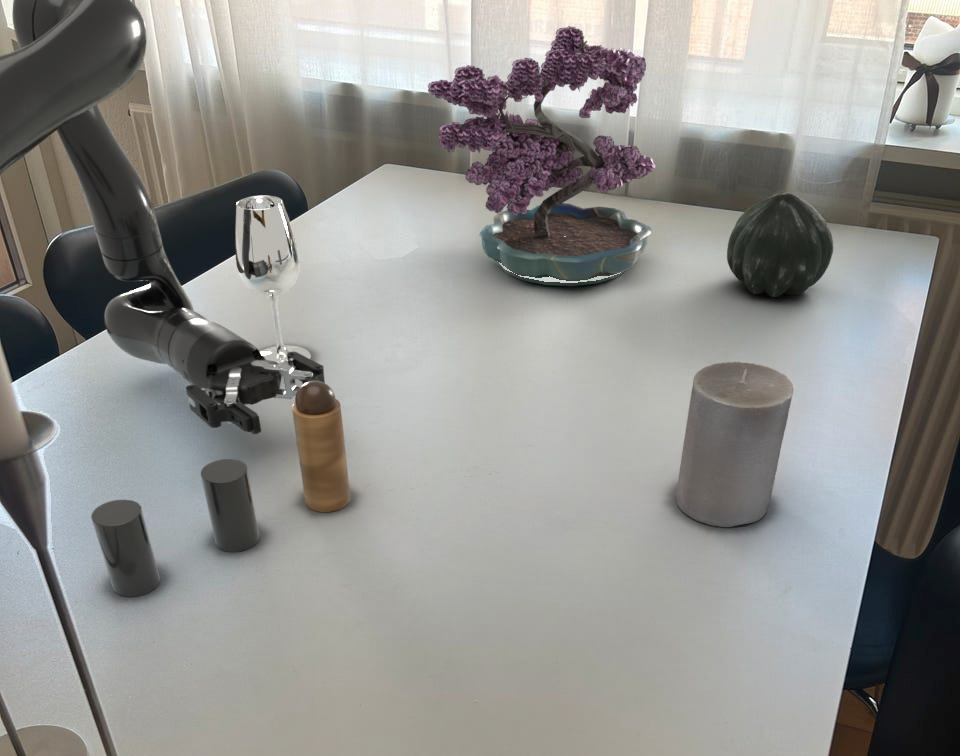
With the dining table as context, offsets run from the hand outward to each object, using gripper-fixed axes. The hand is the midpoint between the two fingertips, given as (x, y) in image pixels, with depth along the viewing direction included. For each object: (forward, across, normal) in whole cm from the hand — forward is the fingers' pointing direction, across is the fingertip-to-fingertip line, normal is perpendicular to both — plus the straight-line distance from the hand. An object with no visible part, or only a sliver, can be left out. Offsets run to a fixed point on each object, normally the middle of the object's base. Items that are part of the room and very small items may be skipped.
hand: (293, 412), depth 104 cm
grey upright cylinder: (+5, -11, +8) cm, 15 cm away
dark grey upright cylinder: (+5, -22, +8) cm, 24 cm away
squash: (-1, +84, +9) cm, 84 cm away
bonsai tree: (-30, +65, +9) cm, 72 cm away
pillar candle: (+33, +31, +9) cm, 46 cm away
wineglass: (-28, +15, +9) cm, 33 cm away
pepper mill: (+5, 0, +8) cm, 10 cm away
